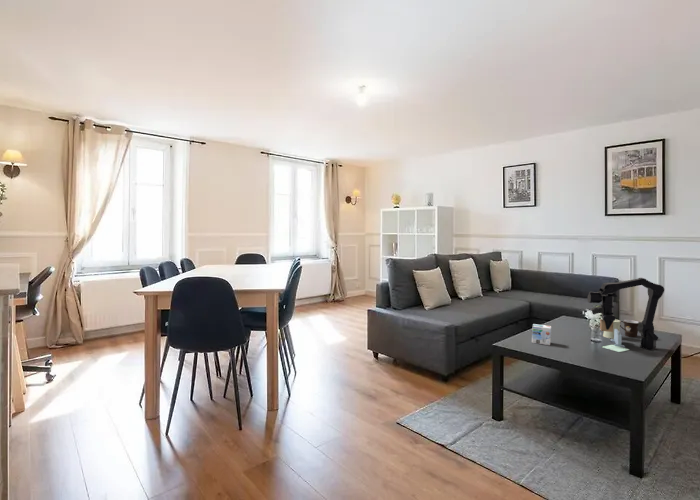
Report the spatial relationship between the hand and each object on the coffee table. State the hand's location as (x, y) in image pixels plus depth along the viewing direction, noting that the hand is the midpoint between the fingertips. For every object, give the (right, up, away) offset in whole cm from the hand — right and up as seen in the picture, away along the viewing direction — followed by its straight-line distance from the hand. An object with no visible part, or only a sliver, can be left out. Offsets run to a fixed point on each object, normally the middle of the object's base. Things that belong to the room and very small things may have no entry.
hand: (606, 328), depth 237 cm
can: (+15, -10, +18) cm, 26 cm away
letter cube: (0, -1, 0) cm, 1 cm away
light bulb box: (-38, -10, +5) cm, 40 cm away
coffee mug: (+30, -10, +22) cm, 38 cm away
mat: (+1, -11, -6) cm, 13 cm away
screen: (+9, -11, +3) cm, 14 cm away
